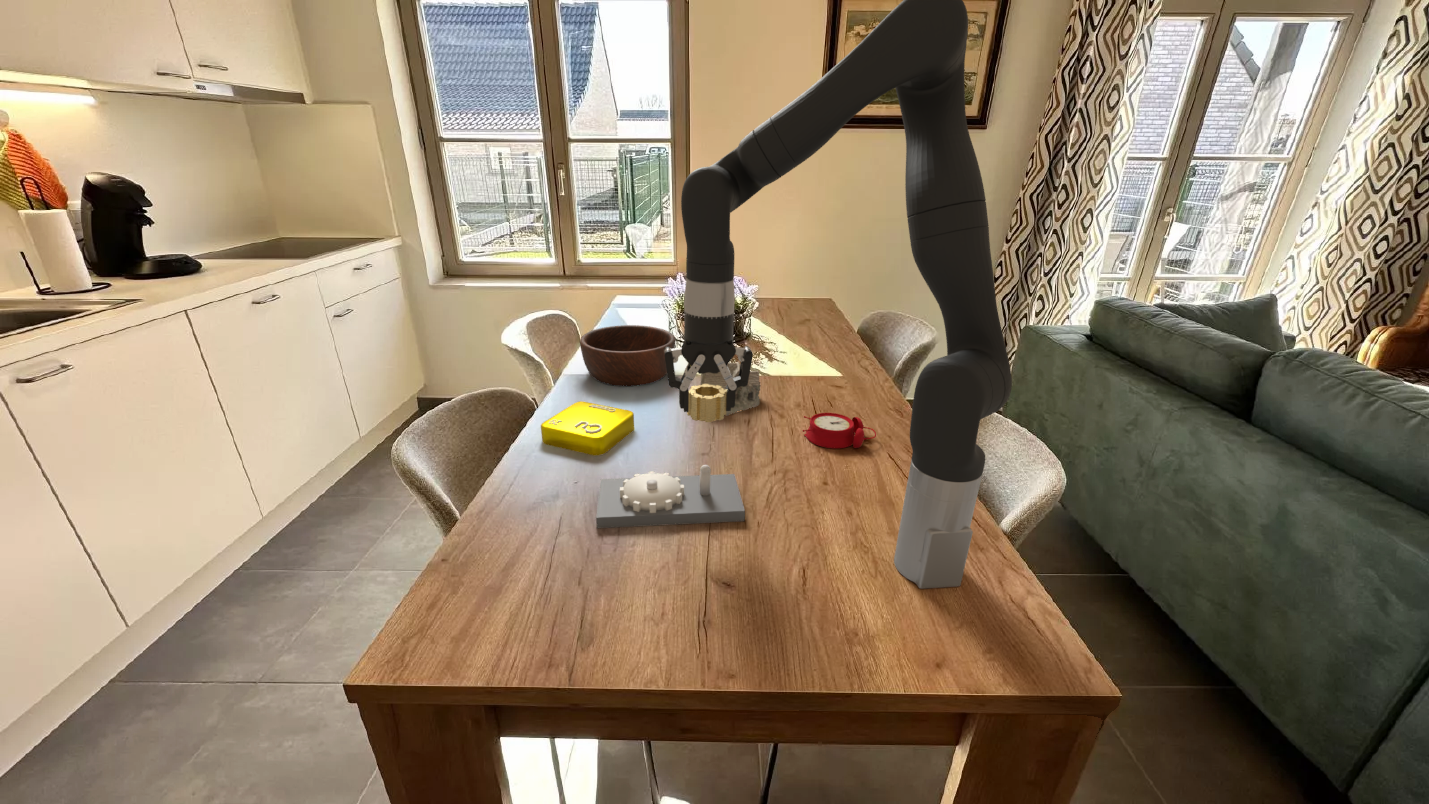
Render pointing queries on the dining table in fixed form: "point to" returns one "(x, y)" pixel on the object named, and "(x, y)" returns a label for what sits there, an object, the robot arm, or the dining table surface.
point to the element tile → (588, 428)
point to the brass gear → (707, 402)
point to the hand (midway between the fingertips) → (707, 409)
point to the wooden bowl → (626, 354)
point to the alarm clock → (835, 431)
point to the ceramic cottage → (743, 395)
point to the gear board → (669, 500)
